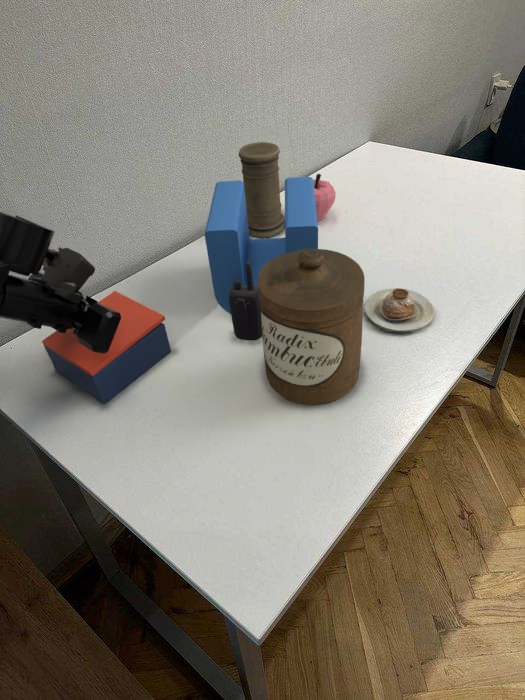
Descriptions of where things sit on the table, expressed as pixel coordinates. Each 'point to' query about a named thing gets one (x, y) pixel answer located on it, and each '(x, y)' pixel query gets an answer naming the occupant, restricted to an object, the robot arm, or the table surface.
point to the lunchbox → (117, 366)
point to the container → (262, 188)
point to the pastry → (399, 310)
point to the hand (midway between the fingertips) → (111, 320)
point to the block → (238, 248)
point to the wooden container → (312, 324)
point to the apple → (323, 197)
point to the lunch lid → (129, 331)
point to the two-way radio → (246, 309)
